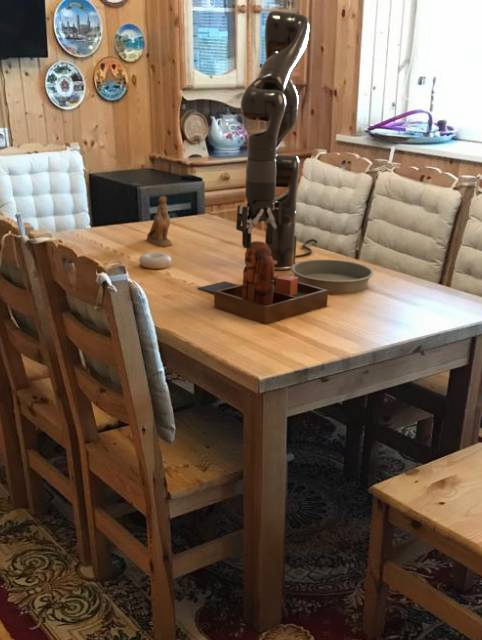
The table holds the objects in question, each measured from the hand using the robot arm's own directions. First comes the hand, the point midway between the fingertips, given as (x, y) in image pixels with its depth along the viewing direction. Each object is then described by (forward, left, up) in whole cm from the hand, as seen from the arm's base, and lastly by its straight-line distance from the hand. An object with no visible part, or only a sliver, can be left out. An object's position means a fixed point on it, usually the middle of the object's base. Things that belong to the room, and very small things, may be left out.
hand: (258, 245), depth 210 cm
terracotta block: (-12, 0, -15) cm, 19 cm away
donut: (-10, -53, -17) cm, 57 cm away
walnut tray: (-6, 0, -17) cm, 18 cm away
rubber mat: (-8, -20, -17) cm, 28 cm away
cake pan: (-37, -4, -17) cm, 41 cm away
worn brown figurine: (-32, -77, -17) cm, 85 cm away
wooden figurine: (0, 0, -17) cm, 17 cm away
